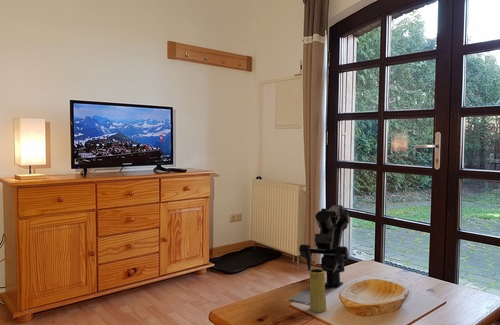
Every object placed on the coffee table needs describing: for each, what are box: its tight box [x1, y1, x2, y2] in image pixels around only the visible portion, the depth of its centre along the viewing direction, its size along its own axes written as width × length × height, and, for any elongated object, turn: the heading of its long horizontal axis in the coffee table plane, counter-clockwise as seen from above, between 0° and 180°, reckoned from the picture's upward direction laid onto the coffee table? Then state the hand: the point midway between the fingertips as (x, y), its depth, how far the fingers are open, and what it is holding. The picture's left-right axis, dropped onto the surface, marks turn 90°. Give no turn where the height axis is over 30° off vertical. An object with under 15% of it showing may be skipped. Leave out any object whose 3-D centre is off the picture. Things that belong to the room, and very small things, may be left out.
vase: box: [309, 268, 328, 313], centre depth 145 cm, size 6×6×14 cm
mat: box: [289, 289, 310, 305], centre depth 158 cm, size 13×10×1 cm
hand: (320, 271), depth 151 cm, fingers open, 9 cm apart
